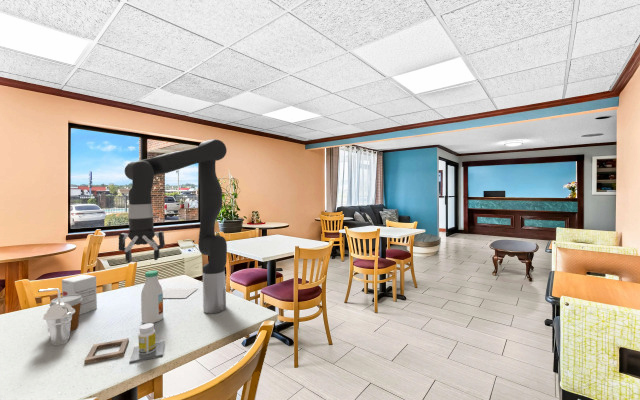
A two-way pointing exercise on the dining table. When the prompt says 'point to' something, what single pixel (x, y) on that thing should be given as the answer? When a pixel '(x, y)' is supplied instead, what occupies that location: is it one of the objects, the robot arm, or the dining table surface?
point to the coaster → (139, 357)
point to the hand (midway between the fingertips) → (143, 260)
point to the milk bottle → (152, 299)
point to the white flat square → (178, 292)
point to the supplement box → (82, 291)
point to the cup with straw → (59, 320)
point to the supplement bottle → (147, 339)
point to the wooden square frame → (120, 353)
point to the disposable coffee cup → (75, 303)
